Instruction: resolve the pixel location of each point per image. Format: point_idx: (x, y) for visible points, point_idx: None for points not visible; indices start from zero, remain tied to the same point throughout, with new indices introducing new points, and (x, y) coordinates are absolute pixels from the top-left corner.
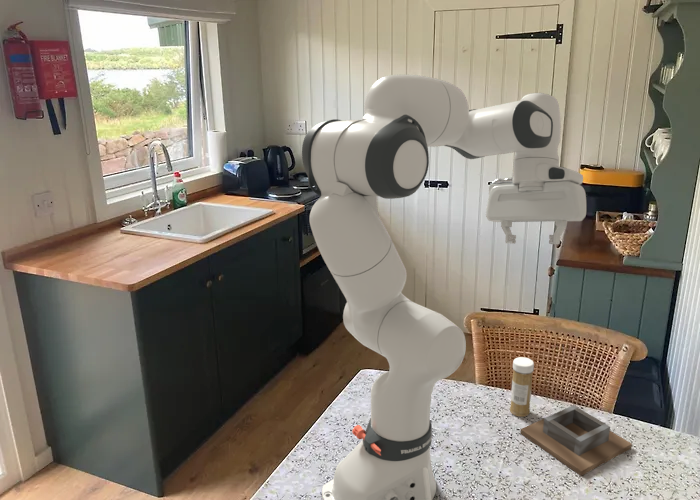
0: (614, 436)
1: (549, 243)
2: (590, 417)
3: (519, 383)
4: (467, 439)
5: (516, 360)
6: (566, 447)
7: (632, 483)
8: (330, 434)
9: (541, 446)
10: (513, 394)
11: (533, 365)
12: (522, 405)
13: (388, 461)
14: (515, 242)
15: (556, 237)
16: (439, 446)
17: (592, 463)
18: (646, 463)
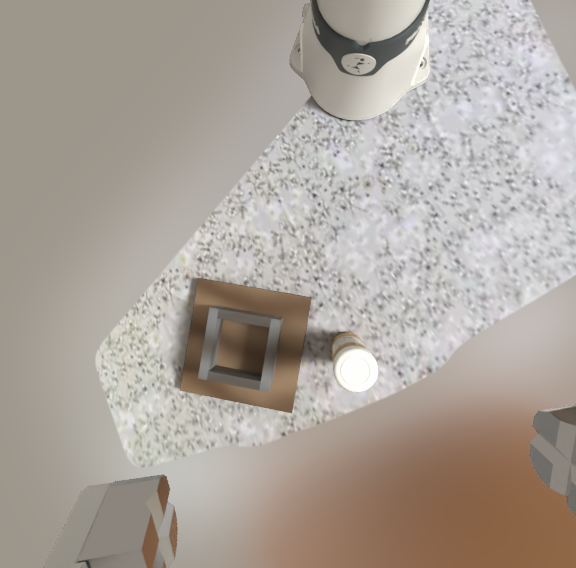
0: (204, 388)
1: (165, 476)
2: (230, 378)
3: (346, 343)
4: (358, 223)
5: (369, 362)
6: (238, 309)
7: (150, 316)
8: (522, 58)
9: (269, 290)
10: (355, 338)
11: (334, 375)
12: (336, 340)
13: None
14: (535, 469)
15: (60, 538)
16: (376, 176)
17: (196, 304)
18: (155, 371)
